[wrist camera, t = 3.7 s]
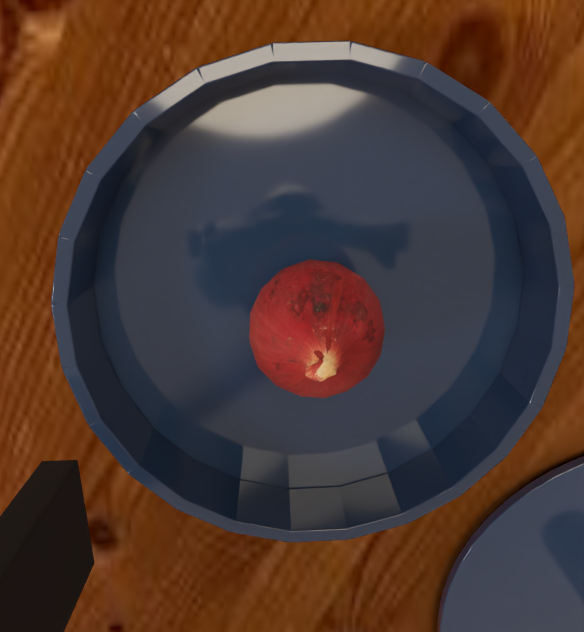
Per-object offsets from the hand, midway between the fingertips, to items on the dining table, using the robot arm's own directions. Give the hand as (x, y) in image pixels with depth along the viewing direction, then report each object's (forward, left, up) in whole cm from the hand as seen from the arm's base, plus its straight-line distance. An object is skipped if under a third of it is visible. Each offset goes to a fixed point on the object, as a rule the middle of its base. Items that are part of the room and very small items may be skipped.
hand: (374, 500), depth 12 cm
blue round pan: (0, 0, -16) cm, 16 cm away
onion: (0, 0, -15) cm, 15 cm away
